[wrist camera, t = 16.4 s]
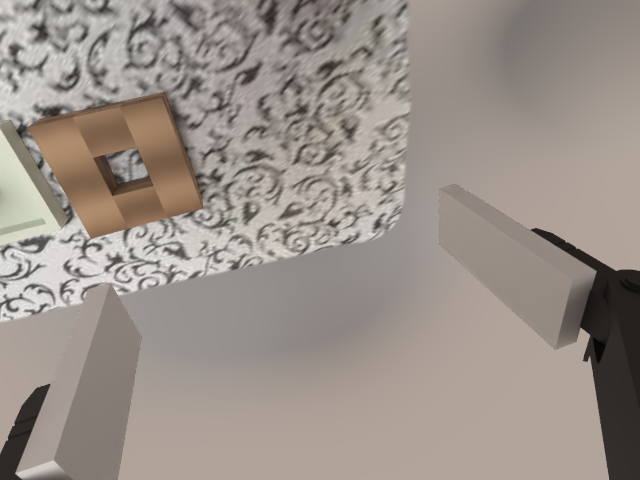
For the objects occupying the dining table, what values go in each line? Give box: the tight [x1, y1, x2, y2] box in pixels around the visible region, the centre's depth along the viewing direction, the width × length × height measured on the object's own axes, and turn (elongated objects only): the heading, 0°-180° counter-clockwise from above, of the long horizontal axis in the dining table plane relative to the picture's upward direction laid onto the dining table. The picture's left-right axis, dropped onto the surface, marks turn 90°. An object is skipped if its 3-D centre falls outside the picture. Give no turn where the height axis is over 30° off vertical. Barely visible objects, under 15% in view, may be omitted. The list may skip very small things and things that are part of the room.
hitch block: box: [27, 92, 203, 238], centre depth 40 cm, size 12×12×4 cm
